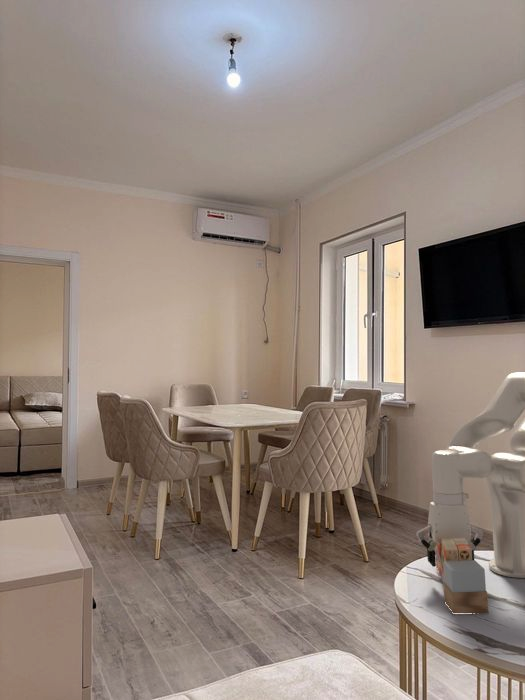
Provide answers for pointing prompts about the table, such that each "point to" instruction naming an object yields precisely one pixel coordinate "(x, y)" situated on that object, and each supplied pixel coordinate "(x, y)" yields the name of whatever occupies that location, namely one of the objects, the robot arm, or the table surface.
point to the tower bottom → (466, 601)
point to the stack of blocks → (452, 552)
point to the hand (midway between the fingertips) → (451, 564)
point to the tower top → (464, 576)
